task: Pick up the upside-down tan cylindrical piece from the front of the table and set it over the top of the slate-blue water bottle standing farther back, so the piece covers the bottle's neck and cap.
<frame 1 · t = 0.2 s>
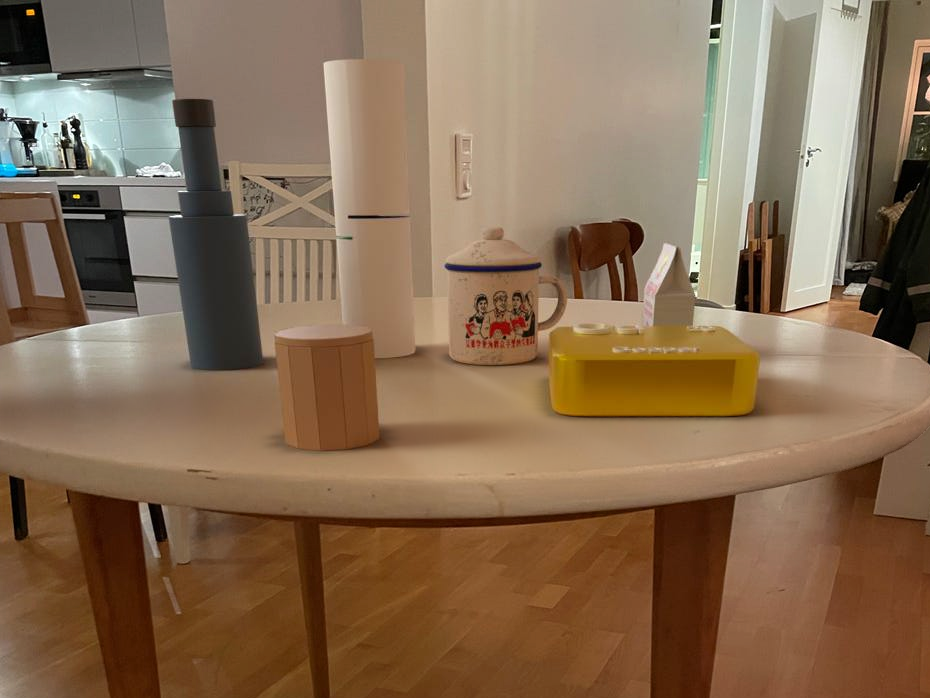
water bottle: (227, 363, 89), on the table
cylindrical container: (380, 354, 94), on the table
tan cylindrical piece: (332, 438, 63), on the table
milk carton: (663, 357, 90), on the table
teacup with lid: (507, 359, 90), on the table
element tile: (643, 398, 74), on the table
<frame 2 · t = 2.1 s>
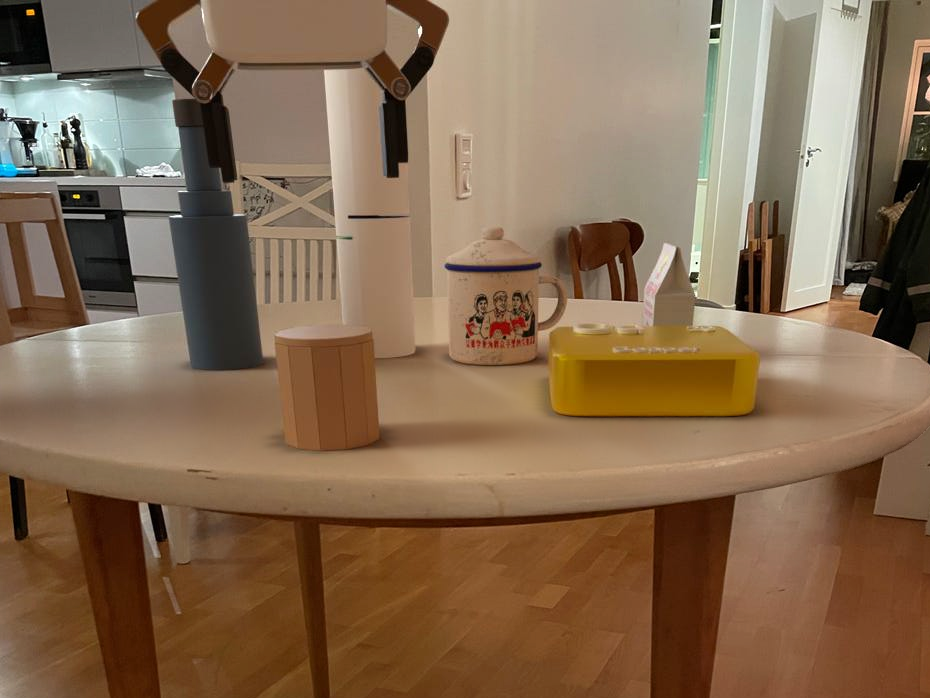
hand: (311, 179, 55), 16 cm above the table, tool pointing down, fingers open, 9 cm apart
nothing on the table moved.
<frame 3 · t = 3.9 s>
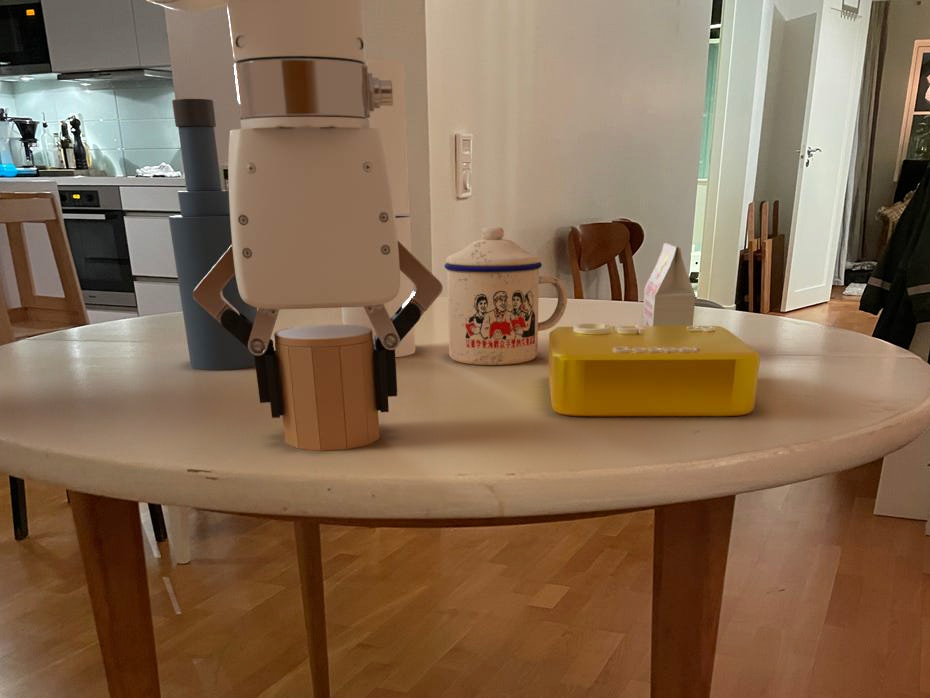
hand: (330, 408, 62), 2 cm above the table, tool pointing down, fingers closed on tan cylindrical piece, 6 cm apart
tan cylindrical piece: (332, 438, 63), on the table, touching gripper
everything else where it was.
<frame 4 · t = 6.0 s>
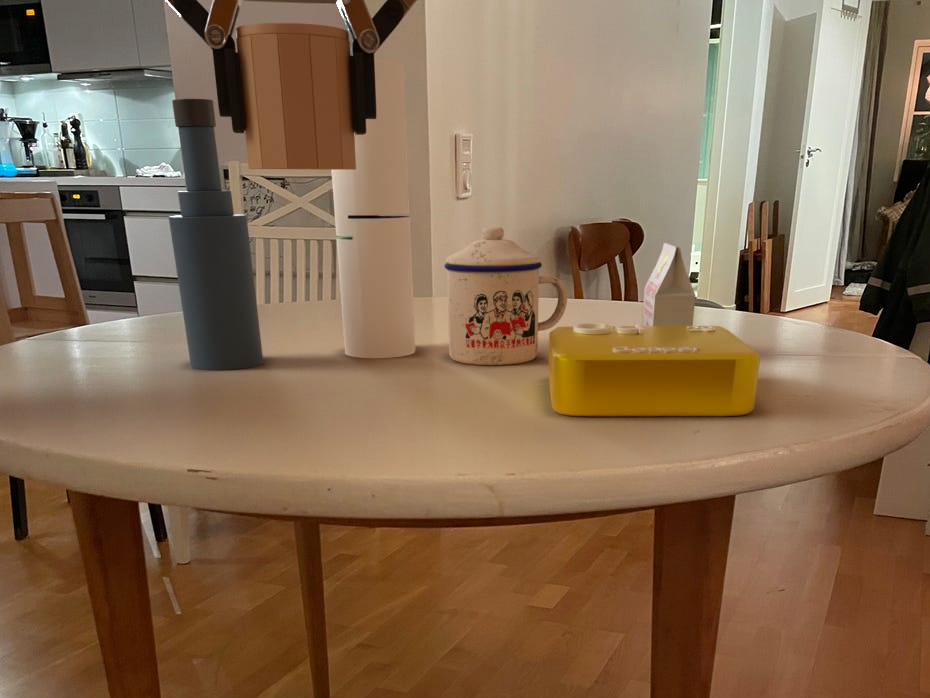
hand: (299, 129, 54), 18 cm above the table, tool pointing down, fingers closed on tan cylindrical piece, 6 cm apart
tan cylindrical piece: (302, 169, 55), point 16 cm above the table, touching gripper
everything else where it was.
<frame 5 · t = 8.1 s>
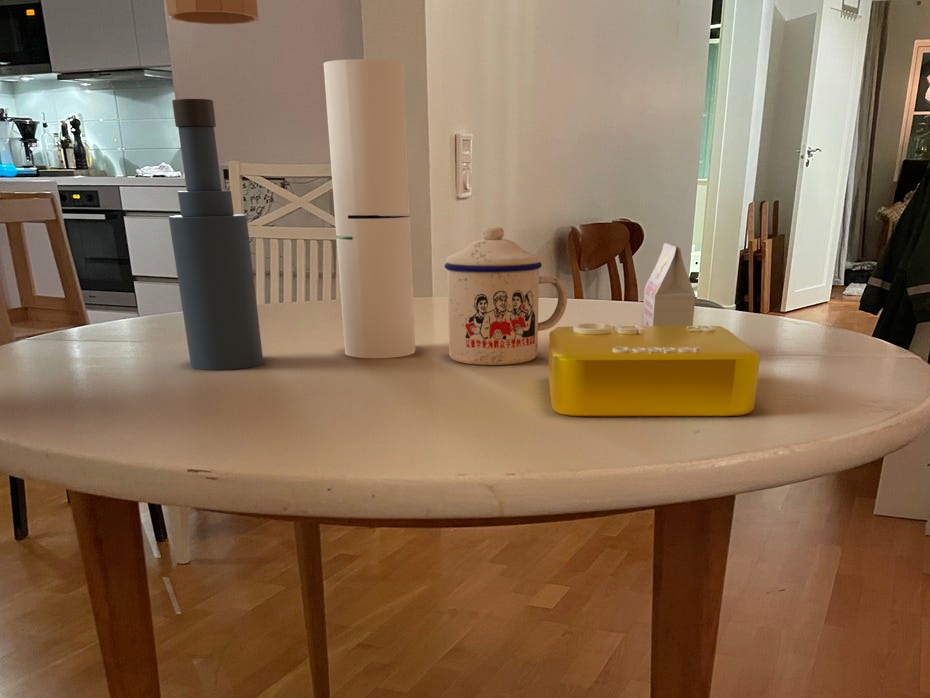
tan cylindrical piece: (214, 17, 67), point 26 cm above the table, touching gripper
everything else where it was.
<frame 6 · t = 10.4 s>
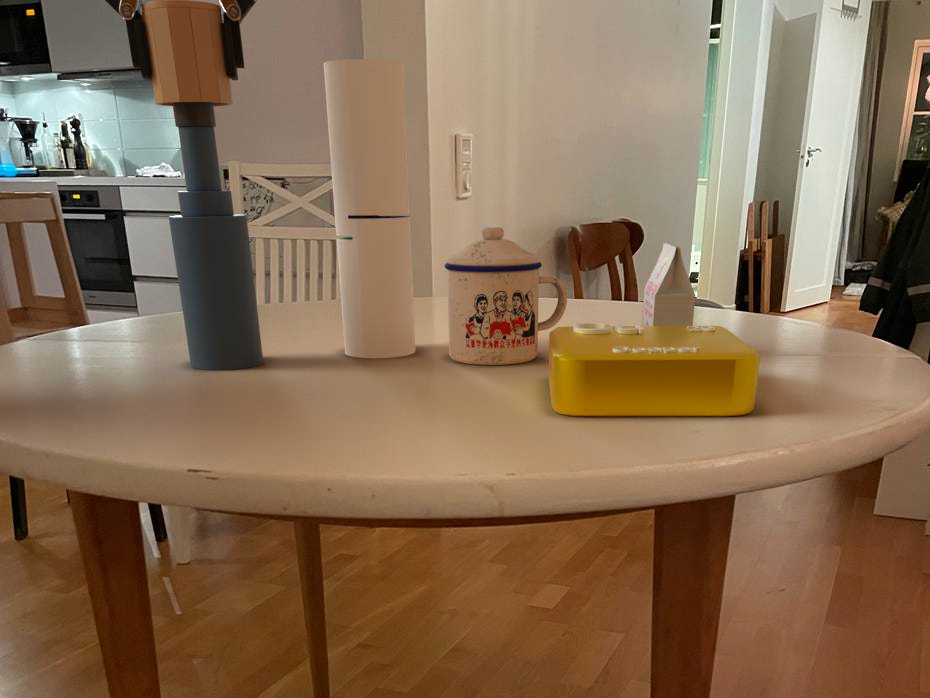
hand: (191, 76, 78), 24 cm above the table, tool pointing down, fingers closed on tan cylindrical piece, 6 cm apart
tan cylindrical piece: (194, 104, 79), point 22 cm above the table, touching gripper
everything else where it was.
when the fingers open (18 cm above the table, at t = 12.3 s): tan cylindrical piece stays where it is, resting on water bottle.
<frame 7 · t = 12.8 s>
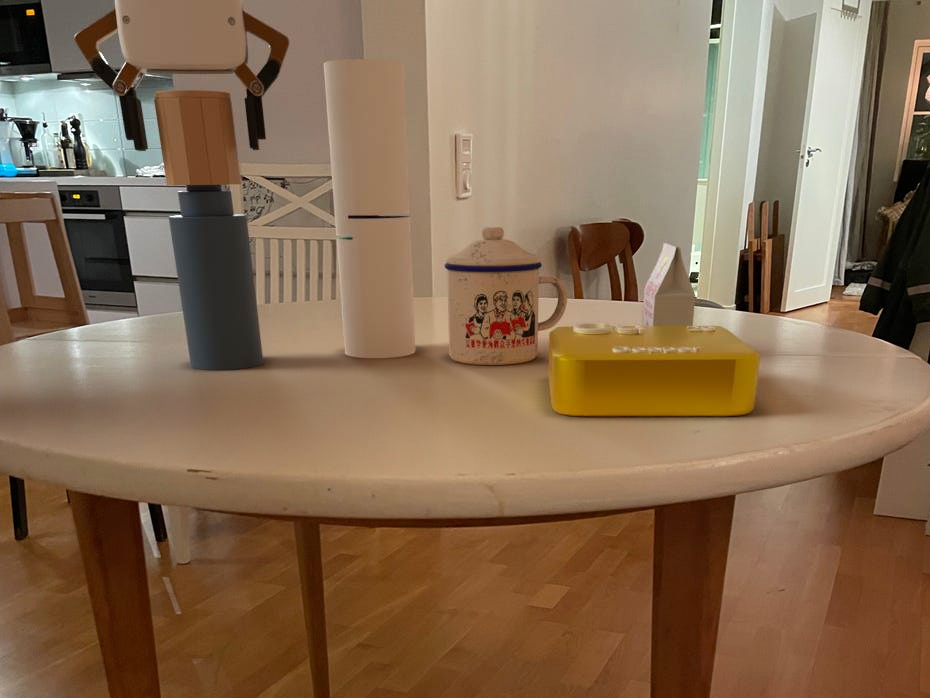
hand: (198, 150, 80), 18 cm above the table, tool pointing down, fingers open, 9 cm apart
tan cylindrical piece: (204, 184, 82), point 15 cm above the table, touching water bottle
everything else where it was.
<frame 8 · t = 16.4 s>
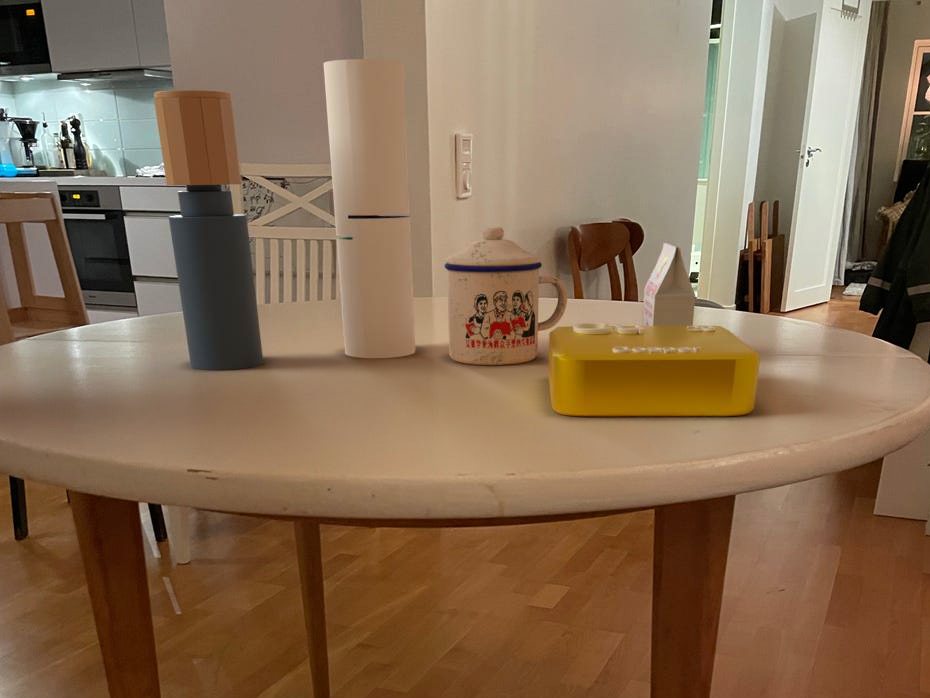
nothing on the table moved.
at the end: tan cylindrical piece 0.1 cm off-centre on the water bottle, point 15.5 cm above the water bottle's base; tan cylindrical piece tilted 0°; the gripper is holding nothing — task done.
